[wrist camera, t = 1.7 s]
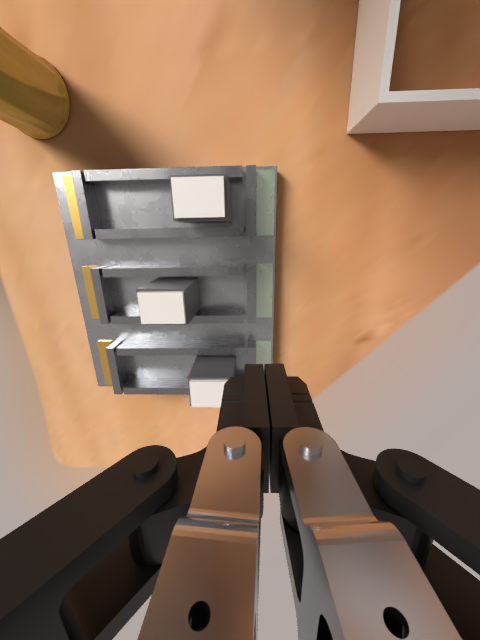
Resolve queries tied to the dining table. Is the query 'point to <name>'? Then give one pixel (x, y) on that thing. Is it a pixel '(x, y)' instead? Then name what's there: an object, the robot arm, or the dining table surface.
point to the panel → (169, 272)
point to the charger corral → (398, 106)
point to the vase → (30, 91)
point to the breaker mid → (169, 301)
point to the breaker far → (210, 379)
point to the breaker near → (201, 198)
